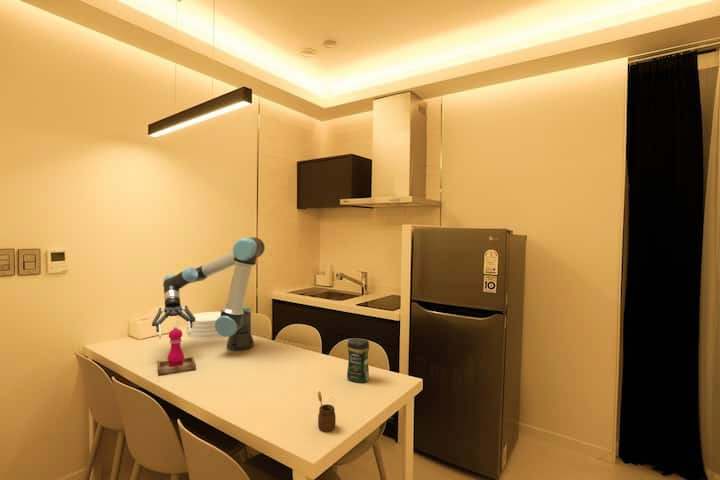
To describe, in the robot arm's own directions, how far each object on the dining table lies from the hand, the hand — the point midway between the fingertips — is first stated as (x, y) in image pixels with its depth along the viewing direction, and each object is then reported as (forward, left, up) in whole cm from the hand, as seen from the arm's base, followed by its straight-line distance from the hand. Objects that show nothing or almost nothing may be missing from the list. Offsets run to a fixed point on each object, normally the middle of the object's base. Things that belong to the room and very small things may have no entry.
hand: (175, 335), depth 195 cm
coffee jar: (-71, +63, -15) cm, 96 cm away
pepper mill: (0, +9, -14) cm, 16 cm away
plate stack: (-24, -52, -15) cm, 59 cm away
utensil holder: (-41, +95, -15) cm, 104 cm away
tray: (0, +9, -14) cm, 17 cm away
